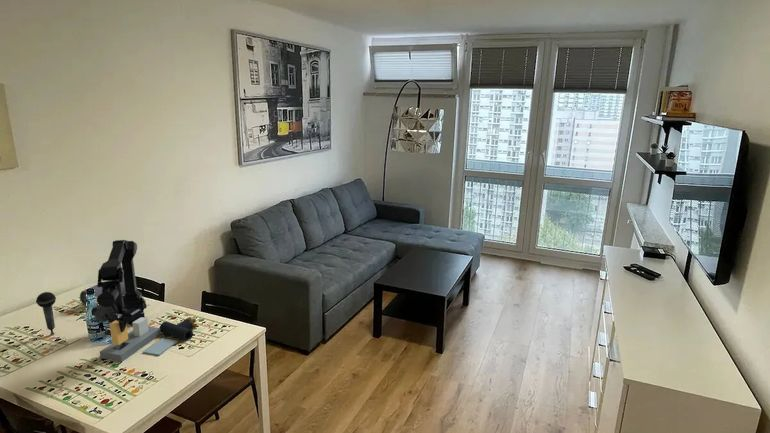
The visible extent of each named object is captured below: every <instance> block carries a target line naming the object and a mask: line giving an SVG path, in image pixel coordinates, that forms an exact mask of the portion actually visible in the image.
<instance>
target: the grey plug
mask: <svg viewBox="0 0 770 433" xmlns="http://www.w3.org/2000/svg"><path fill="white" fill-rule="evenodd" d="M131 325H132V331H134V336H139V337H140V336H142V335H143V334H145V333H146V332H148V331H149V329H148V326H149V322H148V317H146V318H143V317H141V318H139V319H137V320H136V321H134V322H132V324H131Z"/></svg>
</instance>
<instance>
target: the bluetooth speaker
mask: <svg viewBox="0 0 770 433" xmlns="http://www.w3.org/2000/svg"><path fill="white" fill-rule="evenodd" d="M107 281H109V280H107ZM107 281H104V282H107ZM97 285H98V283H97V284H96V285H93V286H91V287H88V288H86V289H84V290H82V291H81V292H80V293H79V299H80V302H81V304H82V305H84V307H87V306H86V290H87V289H89V288H93V289H94V290H95V295H96V296H97V298H98V296H99V295H100V293H101V292H102V287H97ZM121 287H122V294H125V293H126V291H125V284H124V277H123V282H122V283H121Z"/></svg>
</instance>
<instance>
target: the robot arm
mask: <svg viewBox="0 0 770 433" xmlns="http://www.w3.org/2000/svg"><path fill="white" fill-rule="evenodd" d="M111 246H112V248H111V250H110V253H109V257H108V259H107V261H104V262H103V263H102V264H101V266H100V268H99V269H98V271H97V284H98V285H97V284H96V285H97V287H102V292H101V293H100V295H99V296H98V298H97V302H98V304H97V305H95V307H93V308H92V309H91V311H90V312H91V316H94V318H95V319H96V321H98V322H103V323H105V322H108V324H109V325H110V323H112V322H113V321H115V320H116V321H118V322H119V326H120V330H121V332H123V331H124V330H125V327H126V325H127V324H128V325H133V324H132V322H134V321H136V320H137V319H139V318H141V317H143V318H147V317H145V311H144V310H145V309H147V307H148V306H147V302H146V299H144V297H143V294H142V292H141V291H140V290H139V289H138V288H137V279H136V273H135V265H134V258H135V256H136V254H137V251H138V245H137V243H136V242H135V241H134V240H126V239H118V240H116V239H115V240H113V241H112V245H111ZM123 277H124V284H125V291H126V292H124V293H122V287H121V283H122V282H123ZM108 280H109V281H108ZM105 281H107V282H105ZM123 294H124V295H123ZM128 325H127V326H128Z"/></svg>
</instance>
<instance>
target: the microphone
mask: <svg viewBox="0 0 770 433" xmlns="http://www.w3.org/2000/svg"><path fill="white" fill-rule="evenodd" d="M56 300H57V297H56V295H55V294H54V293H52V292H50V291H43V292H42V293H40V294H39V295H38V296H37V297H36V300H35V303H36V304H37V306H39V307H40V308H42V310H43V314H44V320H45V324H46V327H47V328H46V329H47V330H49V331H50V335H51V336H54V335H55V332H54V330H55V328H56V325H55V316H54V311H53V310H54V309H53V305H54V304H55V303H56Z"/></svg>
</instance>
